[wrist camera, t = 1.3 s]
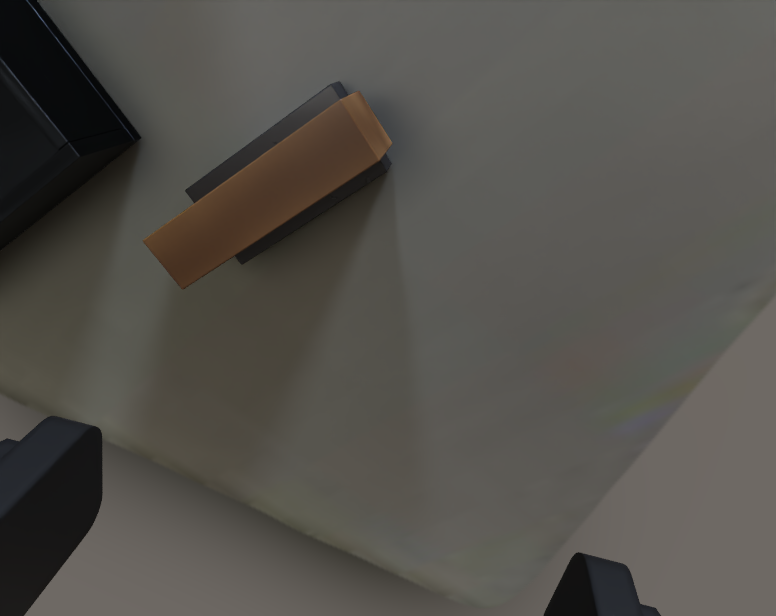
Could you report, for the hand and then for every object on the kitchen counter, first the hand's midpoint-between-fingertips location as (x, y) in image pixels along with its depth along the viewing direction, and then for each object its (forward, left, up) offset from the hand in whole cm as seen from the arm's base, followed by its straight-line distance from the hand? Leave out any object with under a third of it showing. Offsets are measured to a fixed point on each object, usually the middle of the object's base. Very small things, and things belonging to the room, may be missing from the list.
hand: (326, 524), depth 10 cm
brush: (-4, -6, -25) cm, 26 cm away
